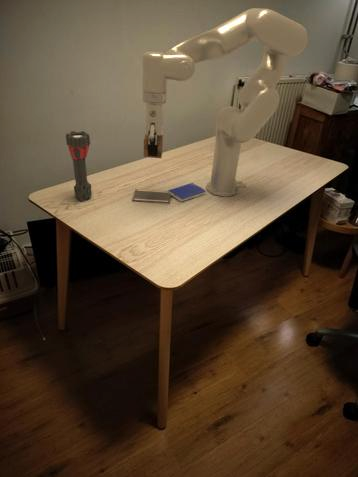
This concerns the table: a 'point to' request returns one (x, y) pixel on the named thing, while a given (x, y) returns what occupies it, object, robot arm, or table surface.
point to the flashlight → (79, 162)
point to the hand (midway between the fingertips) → (153, 151)
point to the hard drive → (186, 192)
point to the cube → (160, 146)
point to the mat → (151, 196)
